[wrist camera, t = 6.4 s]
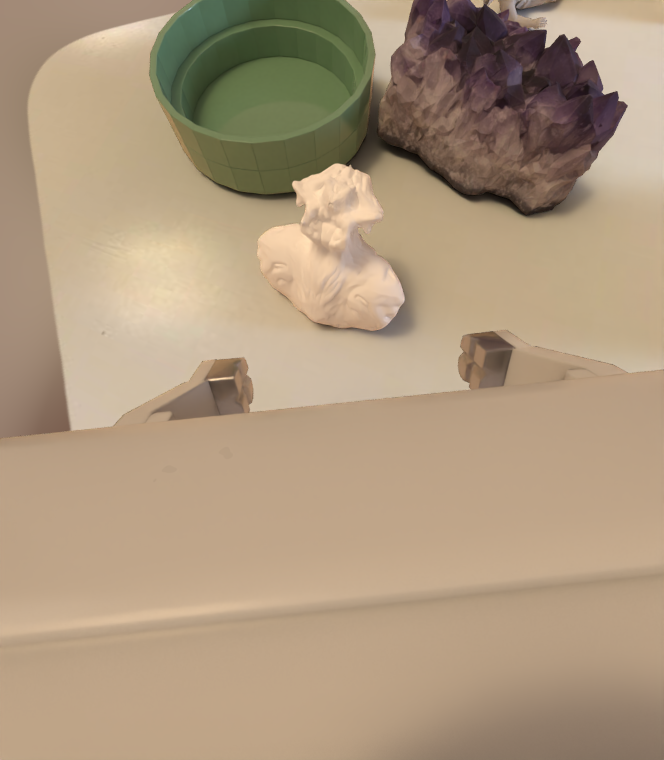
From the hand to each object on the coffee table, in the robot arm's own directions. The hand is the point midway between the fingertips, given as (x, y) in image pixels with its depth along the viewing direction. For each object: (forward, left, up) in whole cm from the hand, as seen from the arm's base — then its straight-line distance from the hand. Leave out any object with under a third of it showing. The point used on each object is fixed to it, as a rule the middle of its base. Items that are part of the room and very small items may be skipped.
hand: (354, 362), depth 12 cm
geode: (-15, -24, -13) cm, 32 cm away
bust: (0, -10, -13) cm, 17 cm away
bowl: (+4, -30, -13) cm, 33 cm away
